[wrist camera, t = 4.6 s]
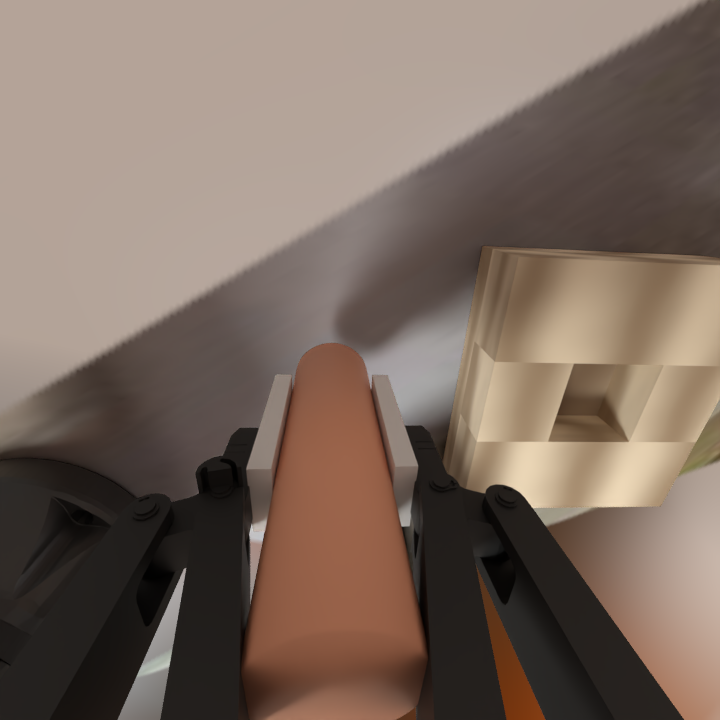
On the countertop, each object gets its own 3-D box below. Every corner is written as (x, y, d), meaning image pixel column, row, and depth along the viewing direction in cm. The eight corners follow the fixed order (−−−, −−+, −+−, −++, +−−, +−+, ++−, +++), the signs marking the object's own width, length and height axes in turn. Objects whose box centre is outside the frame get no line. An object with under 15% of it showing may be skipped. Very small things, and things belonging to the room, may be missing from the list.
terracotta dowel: (296, 406, 20) (242, 744, 8) (295, 342, 19) (222, 637, 6) (364, 405, 21) (421, 728, 8) (368, 343, 19) (447, 623, 6)
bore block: (442, 461, 27) (461, 508, 23) (482, 245, 20) (518, 257, 16) (613, 461, 28) (660, 506, 24) (703, 256, 21) (790, 268, 17)
